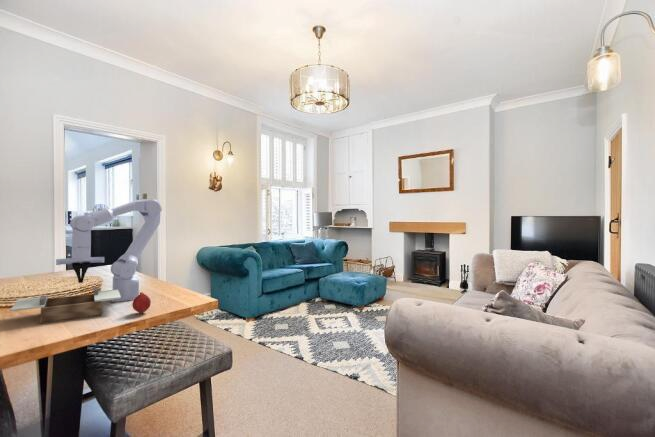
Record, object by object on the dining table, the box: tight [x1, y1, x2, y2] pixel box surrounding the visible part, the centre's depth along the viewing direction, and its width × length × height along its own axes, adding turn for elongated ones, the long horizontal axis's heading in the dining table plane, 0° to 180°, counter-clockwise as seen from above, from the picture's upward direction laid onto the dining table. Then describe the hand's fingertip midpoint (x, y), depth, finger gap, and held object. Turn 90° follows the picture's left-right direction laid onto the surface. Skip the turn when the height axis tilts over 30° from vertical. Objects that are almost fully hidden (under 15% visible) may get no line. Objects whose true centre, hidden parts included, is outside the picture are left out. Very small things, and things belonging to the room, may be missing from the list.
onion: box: [131, 291, 152, 315], centre depth 117 cm, size 6×6×8 cm
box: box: [40, 293, 102, 324], centre depth 113 cm, size 16×13×5 cm
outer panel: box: [10, 295, 49, 312], centre depth 106 cm, size 8×13×3 cm, turn 37°
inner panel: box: [93, 286, 121, 302], centre depth 119 cm, size 8×13×3 cm, turn 37°
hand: (80, 282), depth 122 cm, fingers closed
